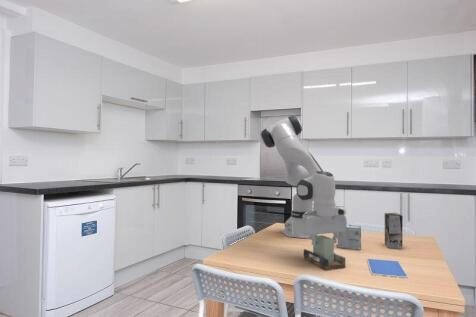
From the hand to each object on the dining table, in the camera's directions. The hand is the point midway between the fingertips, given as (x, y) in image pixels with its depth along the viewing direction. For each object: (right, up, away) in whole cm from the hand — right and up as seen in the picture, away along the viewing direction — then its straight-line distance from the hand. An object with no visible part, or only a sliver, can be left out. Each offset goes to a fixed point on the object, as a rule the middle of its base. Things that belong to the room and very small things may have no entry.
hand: (324, 244), depth 134 cm
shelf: (0, -8, 0) cm, 8 cm away
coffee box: (+42, -9, +27) cm, 51 cm away
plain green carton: (0, -6, 0) cm, 6 cm away
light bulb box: (+19, -9, +25) cm, 33 cm away
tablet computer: (+22, -9, -7) cm, 25 cm away
